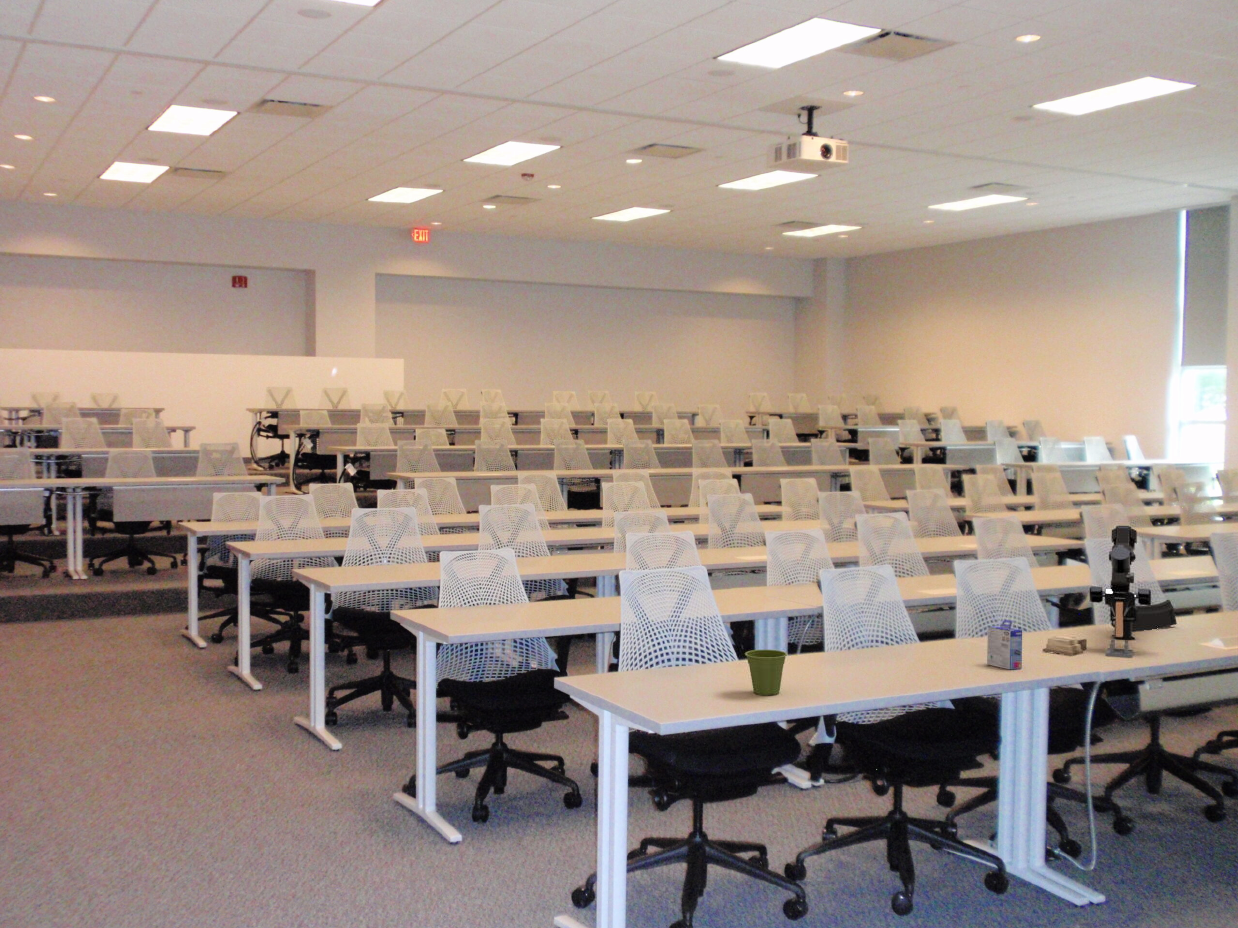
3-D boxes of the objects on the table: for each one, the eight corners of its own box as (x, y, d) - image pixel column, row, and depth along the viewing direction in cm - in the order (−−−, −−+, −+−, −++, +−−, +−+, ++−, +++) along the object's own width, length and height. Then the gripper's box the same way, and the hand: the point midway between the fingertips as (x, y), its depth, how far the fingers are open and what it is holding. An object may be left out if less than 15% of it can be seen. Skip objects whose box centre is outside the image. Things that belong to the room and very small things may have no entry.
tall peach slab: (1116, 634, 378) (1116, 601, 378) (1122, 634, 378) (1123, 601, 377) (1115, 636, 374) (1115, 603, 374) (1122, 637, 373) (1122, 603, 373)
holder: (1106, 650, 382) (1107, 638, 382) (1133, 652, 379) (1133, 640, 379) (1105, 655, 373) (1105, 643, 373) (1132, 657, 370) (1132, 645, 370)
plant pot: (744, 688, 326) (744, 649, 326) (786, 688, 325) (786, 649, 325) (745, 697, 315) (745, 656, 314) (788, 698, 314) (788, 657, 313)
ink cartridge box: (1023, 668, 353) (1023, 622, 353) (1010, 670, 350) (1010, 623, 350) (999, 663, 362) (999, 617, 361) (986, 664, 359) (986, 619, 359)
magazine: (1174, 602, 433) (1119, 583, 421) (1181, 603, 430) (1126, 584, 418) (1164, 646, 431) (1109, 628, 419) (1172, 647, 428) (1116, 630, 416)
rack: (1065, 646, 390) (1065, 633, 390) (1093, 650, 383) (1093, 636, 383) (1042, 651, 381) (1042, 638, 381) (1071, 655, 373) (1071, 641, 373)
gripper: (1089, 562, 383) (1087, 599, 373) (1151, 564, 375) (1150, 602, 365) (1091, 582, 390) (1089, 619, 381) (1151, 585, 382) (1150, 623, 372)
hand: (1119, 615), depth 374 cm, fingers closed on tall peach slab, 2 cm apart
